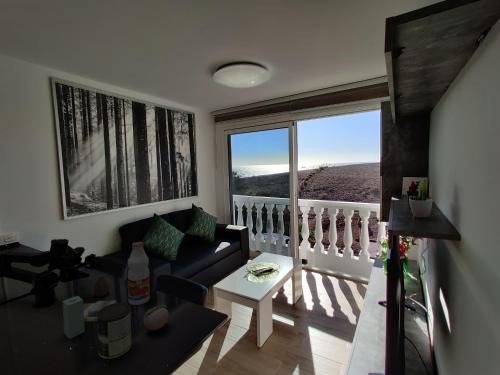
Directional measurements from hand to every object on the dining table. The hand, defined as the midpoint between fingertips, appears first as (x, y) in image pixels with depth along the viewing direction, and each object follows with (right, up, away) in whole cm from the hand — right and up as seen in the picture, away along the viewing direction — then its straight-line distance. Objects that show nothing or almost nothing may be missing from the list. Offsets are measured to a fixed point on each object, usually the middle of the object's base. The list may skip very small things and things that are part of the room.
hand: (96, 271), depth 113 cm
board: (+1, -17, -4) cm, 17 cm away
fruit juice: (+16, -16, +7) cm, 24 cm away
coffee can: (+22, -19, -24) cm, 38 cm away
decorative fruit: (+33, -18, -14) cm, 40 cm away
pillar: (+2, -18, -17) cm, 25 cm away
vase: (-4, -16, +12) cm, 20 cm away
